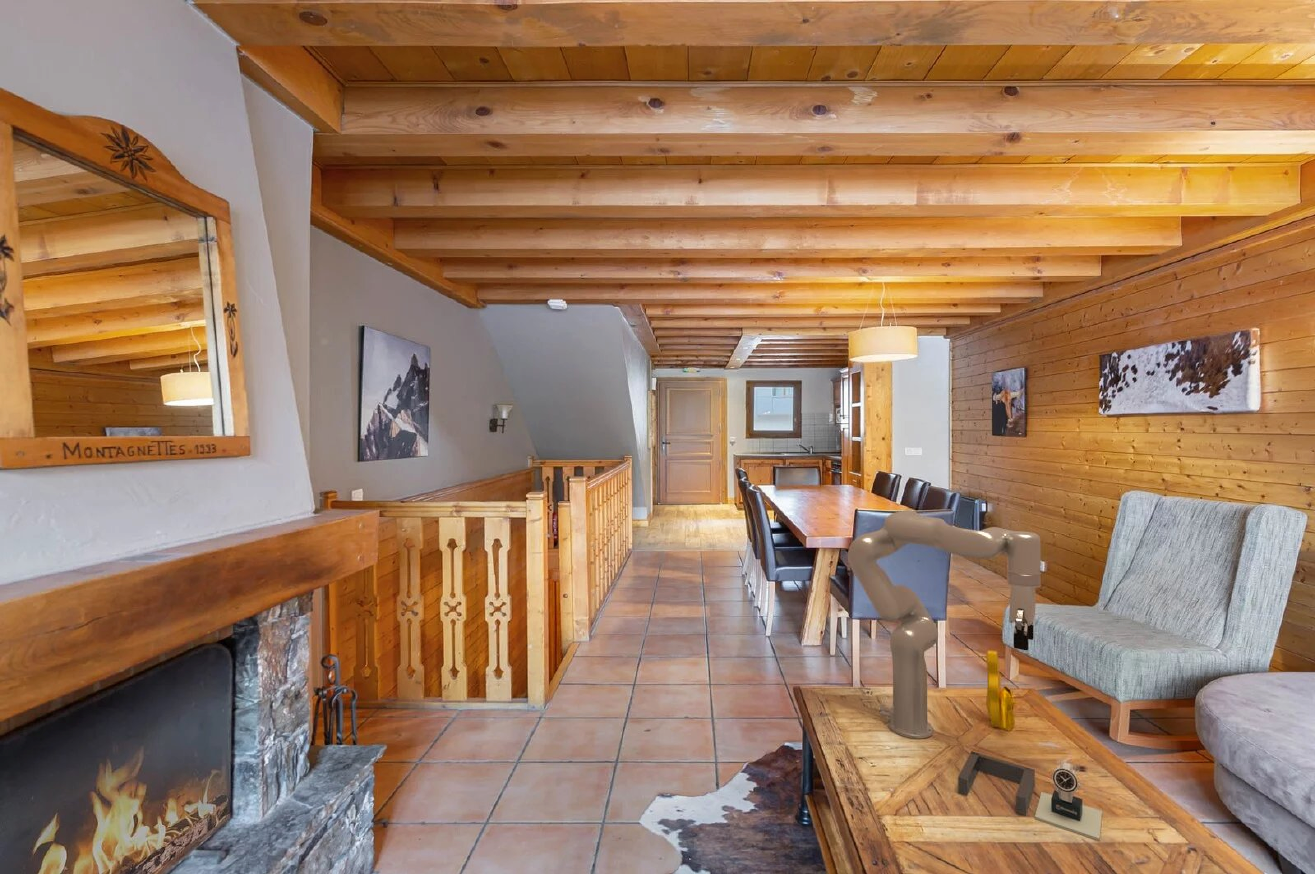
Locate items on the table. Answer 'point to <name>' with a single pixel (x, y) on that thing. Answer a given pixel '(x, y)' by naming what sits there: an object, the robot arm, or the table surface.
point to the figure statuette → (998, 696)
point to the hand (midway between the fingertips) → (1023, 643)
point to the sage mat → (1085, 826)
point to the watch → (1066, 792)
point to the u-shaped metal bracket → (999, 770)
